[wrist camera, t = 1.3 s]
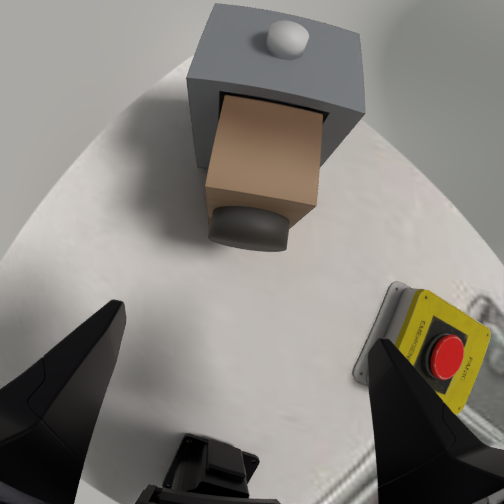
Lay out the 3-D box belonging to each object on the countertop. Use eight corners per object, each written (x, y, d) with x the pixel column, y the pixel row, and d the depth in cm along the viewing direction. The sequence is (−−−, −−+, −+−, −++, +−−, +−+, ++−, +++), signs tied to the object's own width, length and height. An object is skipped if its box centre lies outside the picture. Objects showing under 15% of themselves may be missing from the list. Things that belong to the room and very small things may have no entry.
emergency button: (418, 274, 21) (511, 336, 21) (389, 277, 25) (483, 333, 26) (370, 391, 19) (477, 424, 20) (346, 376, 24) (451, 413, 24)
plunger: (272, 260, 23) (313, 238, 13) (206, 250, 23) (198, 219, 13) (283, 179, 24) (322, 114, 14) (220, 169, 24) (225, 95, 14)
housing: (305, 185, 25) (375, 101, 12) (197, 166, 24) (184, 61, 11) (310, 119, 26) (366, 21, 13) (212, 101, 25) (215, -12, 12)
